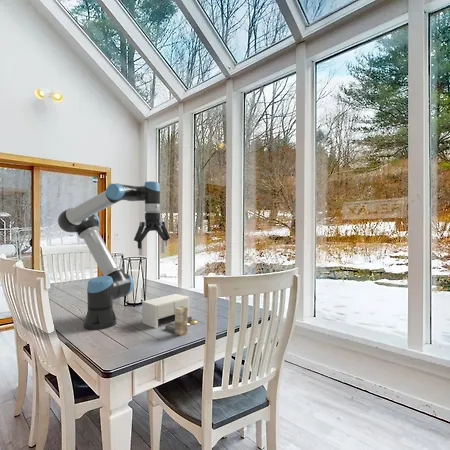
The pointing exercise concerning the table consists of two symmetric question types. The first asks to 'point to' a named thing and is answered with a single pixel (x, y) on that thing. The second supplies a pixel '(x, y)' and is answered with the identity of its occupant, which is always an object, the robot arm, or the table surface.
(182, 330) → the hook
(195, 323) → the gold domed disc
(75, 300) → the table surface
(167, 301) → the cabinet
